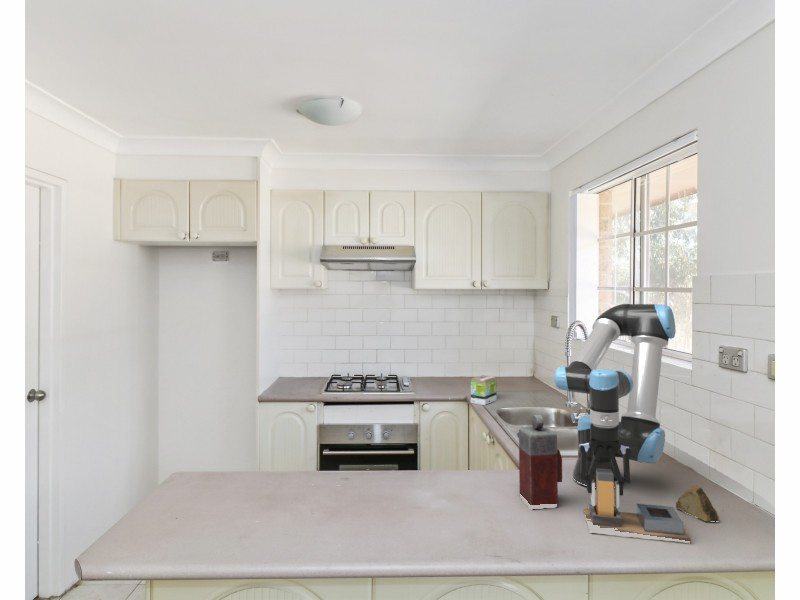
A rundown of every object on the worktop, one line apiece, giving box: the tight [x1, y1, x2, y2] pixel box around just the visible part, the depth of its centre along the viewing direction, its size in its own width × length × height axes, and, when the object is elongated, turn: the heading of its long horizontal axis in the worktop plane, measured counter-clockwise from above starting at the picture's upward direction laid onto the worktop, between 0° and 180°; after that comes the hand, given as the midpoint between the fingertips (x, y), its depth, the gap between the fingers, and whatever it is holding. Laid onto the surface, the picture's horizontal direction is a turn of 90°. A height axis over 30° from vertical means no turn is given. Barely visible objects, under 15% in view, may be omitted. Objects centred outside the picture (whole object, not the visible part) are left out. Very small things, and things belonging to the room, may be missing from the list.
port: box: [636, 503, 684, 536], centre depth 133 cm, size 9×9×4 cm
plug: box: [595, 468, 615, 516], centre depth 136 cm, size 4×4×14 cm
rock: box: [675, 485, 721, 522], centre depth 141 cm, size 11×9×10 cm
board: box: [583, 503, 691, 542], centre depth 134 cm, size 12×25×4 cm, turn 76°
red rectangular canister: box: [518, 414, 563, 505], centre depth 151 cm, size 9×11×28 cm
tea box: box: [470, 374, 498, 406], centre depth 283 cm, size 15×10×15 cm
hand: (604, 504), depth 136 cm, fingers open, 6 cm apart
